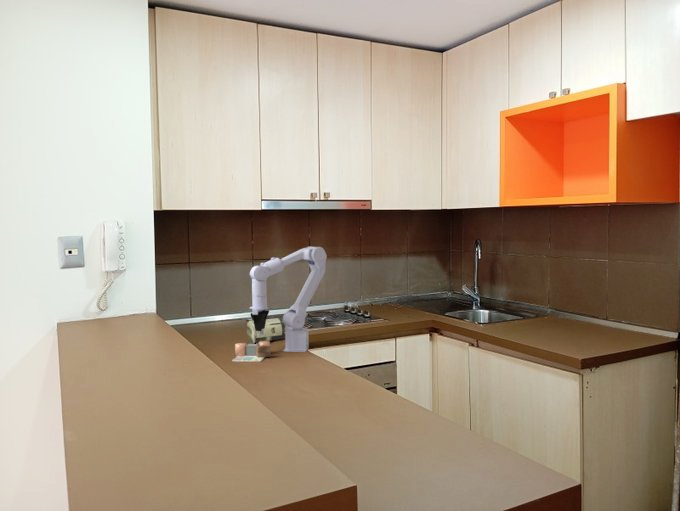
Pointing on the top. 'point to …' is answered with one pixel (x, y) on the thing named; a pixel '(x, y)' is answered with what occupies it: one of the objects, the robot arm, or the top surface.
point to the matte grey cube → (251, 349)
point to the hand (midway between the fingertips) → (260, 329)
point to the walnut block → (263, 351)
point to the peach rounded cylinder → (264, 343)
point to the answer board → (248, 359)
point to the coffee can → (266, 331)
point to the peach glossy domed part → (240, 349)
